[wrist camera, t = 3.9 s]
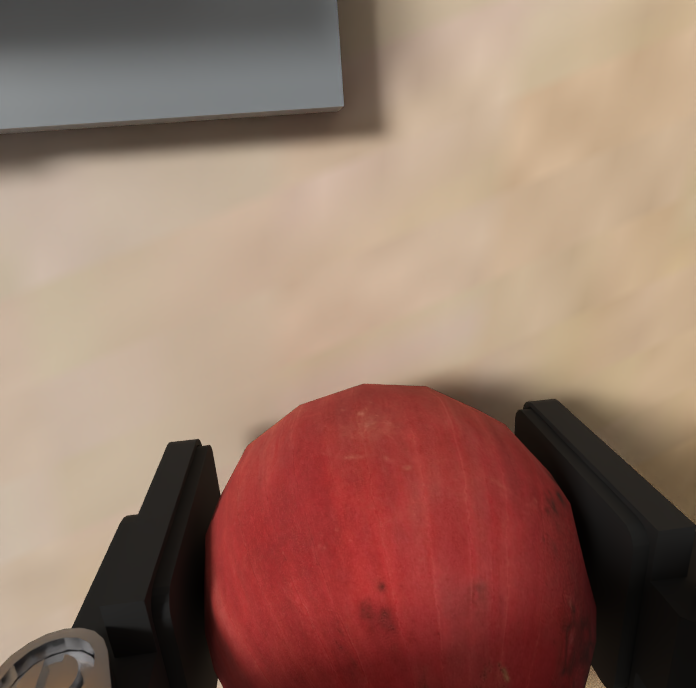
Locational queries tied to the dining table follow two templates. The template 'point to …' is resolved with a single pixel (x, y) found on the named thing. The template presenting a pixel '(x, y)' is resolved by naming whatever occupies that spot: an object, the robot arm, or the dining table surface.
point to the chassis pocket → (165, 61)
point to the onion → (395, 553)
